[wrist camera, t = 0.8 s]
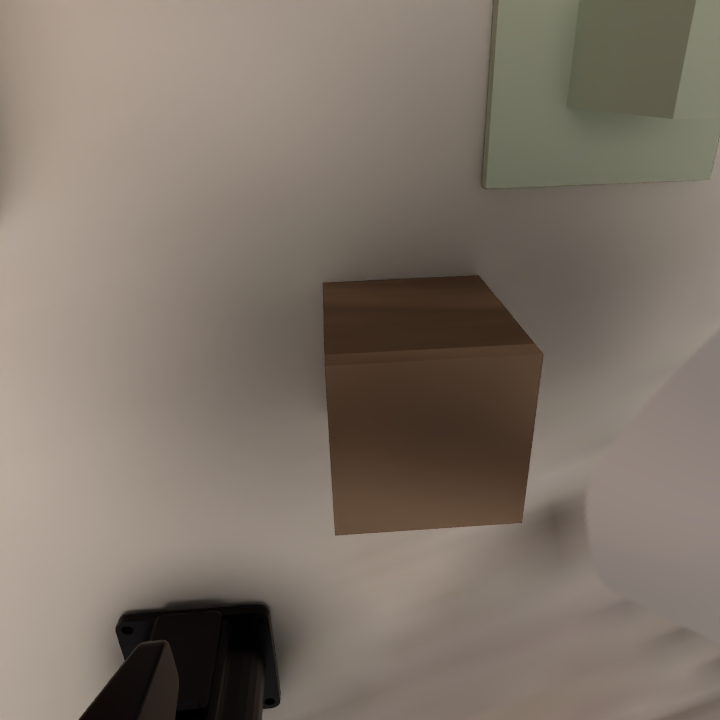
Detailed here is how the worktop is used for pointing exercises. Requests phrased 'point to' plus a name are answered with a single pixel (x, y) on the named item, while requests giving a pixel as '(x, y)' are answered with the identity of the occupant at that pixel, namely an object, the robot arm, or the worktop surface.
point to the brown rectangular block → (427, 404)
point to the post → (602, 92)
